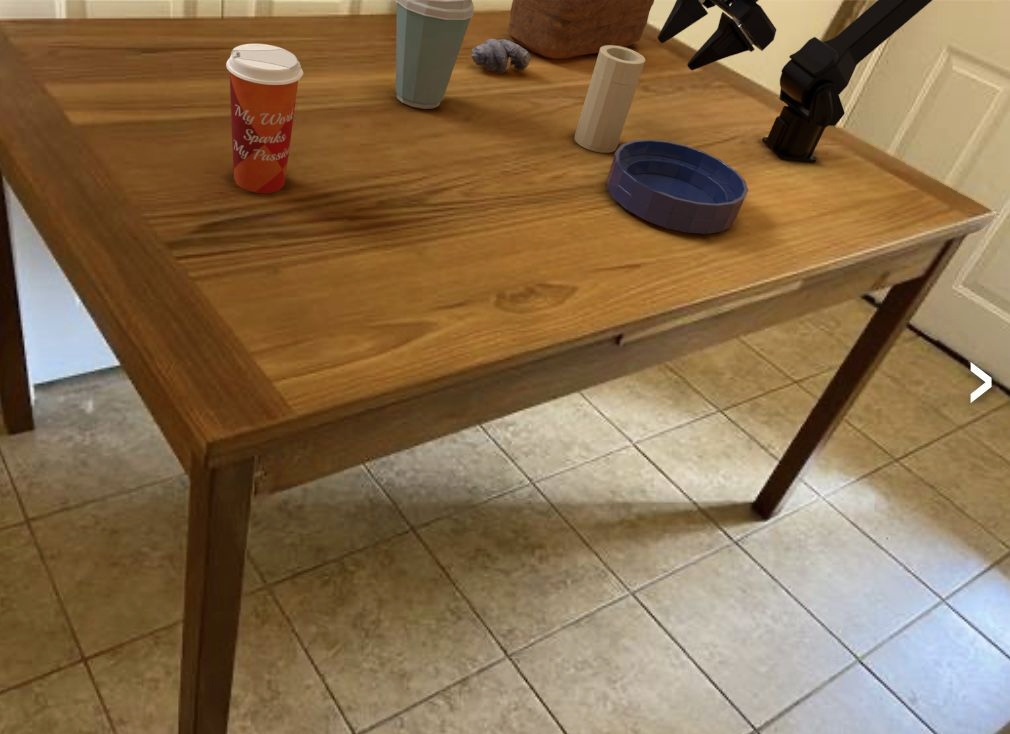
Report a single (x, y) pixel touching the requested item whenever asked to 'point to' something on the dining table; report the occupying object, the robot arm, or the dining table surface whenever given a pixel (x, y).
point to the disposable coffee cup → (428, 48)
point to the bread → (576, 25)
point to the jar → (609, 98)
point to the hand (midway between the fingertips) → (673, 53)
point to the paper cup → (262, 114)
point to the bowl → (676, 186)
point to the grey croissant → (500, 55)
